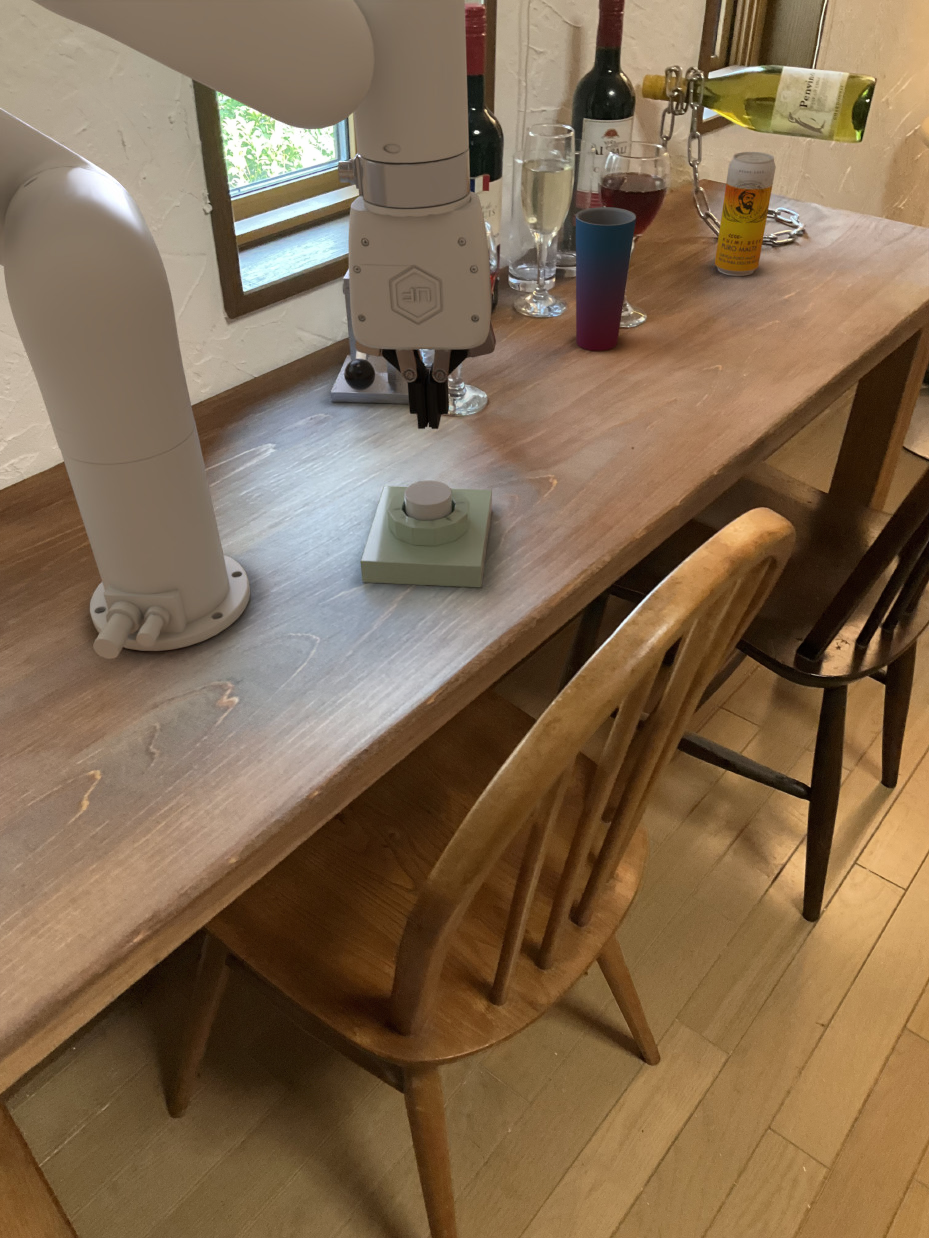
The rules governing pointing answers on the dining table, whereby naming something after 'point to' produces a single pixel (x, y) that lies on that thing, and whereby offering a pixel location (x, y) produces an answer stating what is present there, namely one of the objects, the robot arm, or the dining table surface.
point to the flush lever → (359, 372)
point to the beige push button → (428, 500)
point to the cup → (601, 274)
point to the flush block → (428, 542)
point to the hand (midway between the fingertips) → (430, 420)
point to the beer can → (744, 213)
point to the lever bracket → (386, 376)
